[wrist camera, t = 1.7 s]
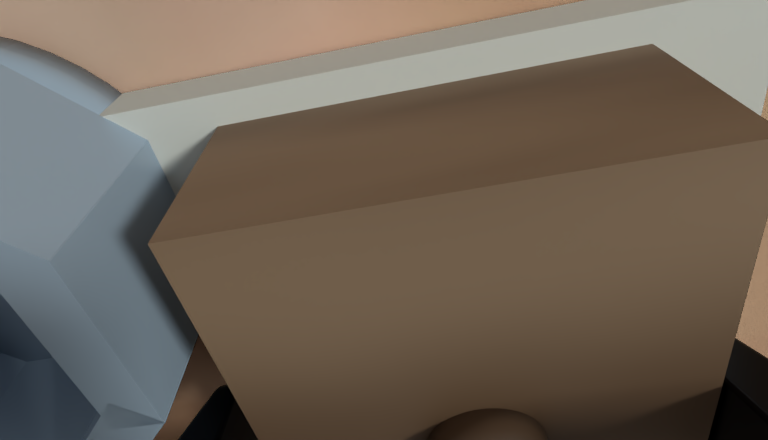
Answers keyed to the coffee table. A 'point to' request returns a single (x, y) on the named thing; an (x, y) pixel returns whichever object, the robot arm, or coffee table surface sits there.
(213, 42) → the coffee table surface
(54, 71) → the bowl
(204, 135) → the mat
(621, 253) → the lid
